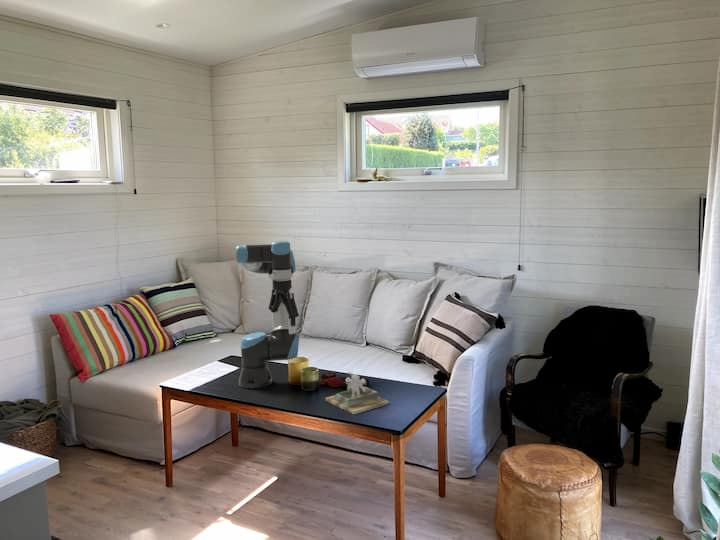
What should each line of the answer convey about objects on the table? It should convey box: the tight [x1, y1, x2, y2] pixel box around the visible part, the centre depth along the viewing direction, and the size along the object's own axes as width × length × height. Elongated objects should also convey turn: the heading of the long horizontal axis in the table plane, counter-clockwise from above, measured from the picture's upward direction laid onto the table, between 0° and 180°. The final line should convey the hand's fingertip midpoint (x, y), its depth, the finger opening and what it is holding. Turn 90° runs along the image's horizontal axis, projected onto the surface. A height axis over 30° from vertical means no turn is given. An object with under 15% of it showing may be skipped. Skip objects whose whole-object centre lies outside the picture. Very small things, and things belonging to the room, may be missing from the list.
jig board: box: [325, 386, 389, 415], centre depth 248 cm, size 20×18×4 cm
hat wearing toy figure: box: [345, 371, 366, 399], centre depth 247 cm, size 9×4×12 cm, turn 70°
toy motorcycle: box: [318, 371, 370, 390], centre depth 269 cm, size 25×5×16 cm
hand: (283, 330), depth 243 cm, fingers open, 13 cm apart
